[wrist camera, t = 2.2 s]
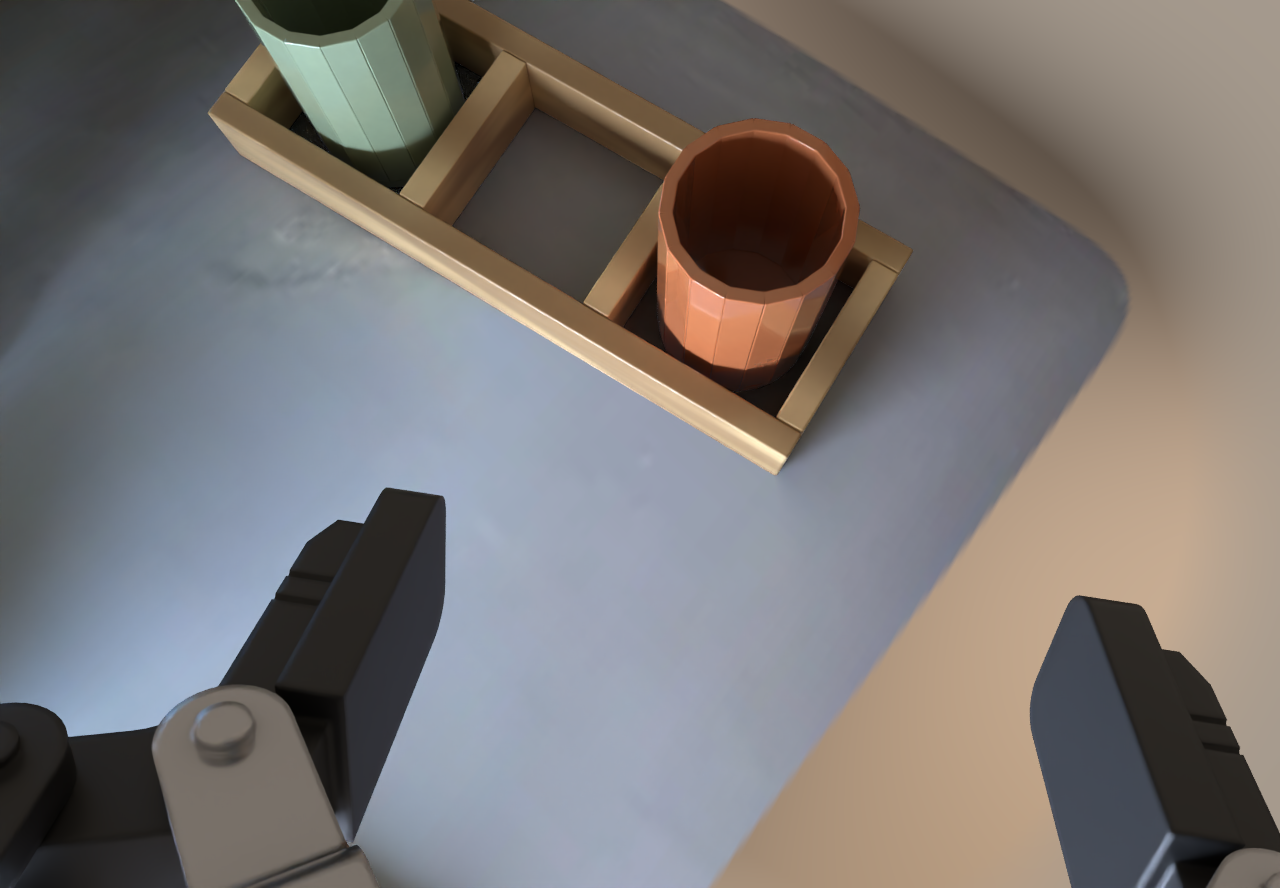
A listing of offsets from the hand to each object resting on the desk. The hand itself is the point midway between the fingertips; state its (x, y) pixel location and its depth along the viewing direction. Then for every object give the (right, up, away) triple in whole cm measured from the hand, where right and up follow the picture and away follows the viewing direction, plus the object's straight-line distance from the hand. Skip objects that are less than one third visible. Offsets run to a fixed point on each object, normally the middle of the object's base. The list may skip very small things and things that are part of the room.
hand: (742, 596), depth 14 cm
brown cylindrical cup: (+2, +6, +24) cm, 25 cm away
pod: (-10, +14, +26) cm, 31 cm away
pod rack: (-4, +10, +25) cm, 27 cm away
